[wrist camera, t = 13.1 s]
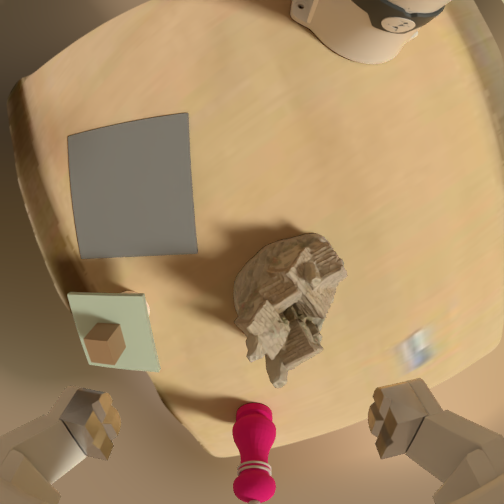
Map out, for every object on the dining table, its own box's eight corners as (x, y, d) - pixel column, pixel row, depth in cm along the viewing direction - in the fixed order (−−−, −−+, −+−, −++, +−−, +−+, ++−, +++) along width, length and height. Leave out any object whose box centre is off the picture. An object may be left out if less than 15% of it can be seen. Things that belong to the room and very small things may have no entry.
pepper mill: (225, 414, 47) (216, 509, 28) (252, 394, 45) (252, 496, 26) (255, 430, 48) (255, 520, 29) (283, 412, 47) (292, 508, 27)
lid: (70, 291, 33) (50, 307, 28) (144, 293, 32) (129, 312, 28) (91, 361, 36) (77, 381, 31) (160, 368, 36) (151, 392, 31)
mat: (69, 136, 34) (67, 136, 33) (188, 113, 33) (187, 112, 33) (82, 258, 39) (81, 258, 38) (197, 252, 38) (197, 253, 38)
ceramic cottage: (264, 360, 43) (274, 430, 28) (214, 267, 39) (200, 314, 25) (357, 318, 42) (402, 372, 28) (321, 218, 39) (366, 238, 24)
